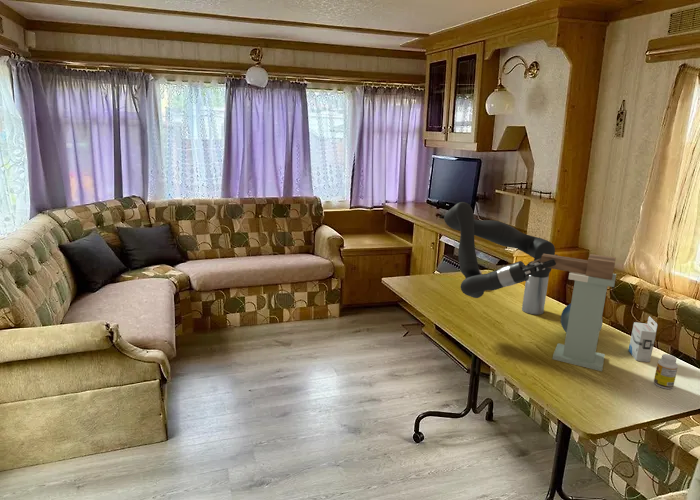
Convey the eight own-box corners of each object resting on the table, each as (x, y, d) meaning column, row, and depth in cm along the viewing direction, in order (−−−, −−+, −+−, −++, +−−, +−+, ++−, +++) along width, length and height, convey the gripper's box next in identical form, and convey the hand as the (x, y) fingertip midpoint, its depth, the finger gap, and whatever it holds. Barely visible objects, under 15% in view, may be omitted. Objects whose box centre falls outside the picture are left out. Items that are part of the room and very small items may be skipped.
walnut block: (542, 262, 181) (545, 247, 179) (612, 274, 170) (615, 257, 169) (539, 267, 174) (541, 251, 173) (611, 280, 163) (614, 262, 162)
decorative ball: (595, 333, 201) (601, 298, 197) (602, 348, 186) (609, 311, 183) (555, 328, 204) (561, 293, 201) (560, 342, 190) (566, 306, 187)
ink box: (627, 350, 186) (634, 314, 182) (641, 352, 185) (649, 315, 181) (635, 360, 178) (643, 322, 174) (650, 362, 177) (658, 324, 173)
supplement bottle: (654, 379, 165) (661, 351, 162) (674, 385, 161) (680, 356, 159) (651, 385, 161) (657, 356, 158) (671, 391, 157) (678, 362, 155)
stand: (557, 346, 186) (569, 265, 178) (604, 357, 179) (619, 273, 171) (552, 359, 176) (565, 273, 168) (601, 371, 169) (618, 282, 161)
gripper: (504, 269, 177) (549, 253, 169) (512, 260, 189) (555, 245, 181) (512, 288, 177) (558, 273, 168) (520, 278, 189) (563, 264, 180)
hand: (556, 259), depth 175 cm, fingers open, 7 cm apart
